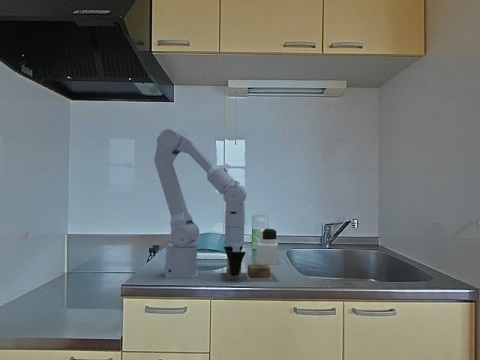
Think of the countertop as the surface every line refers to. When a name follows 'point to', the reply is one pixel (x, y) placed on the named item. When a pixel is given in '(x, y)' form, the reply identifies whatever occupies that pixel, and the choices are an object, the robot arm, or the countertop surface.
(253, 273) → the walnut base
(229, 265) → the maple block
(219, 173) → the robot arm
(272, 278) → the mat
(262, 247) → the medicine bottle
